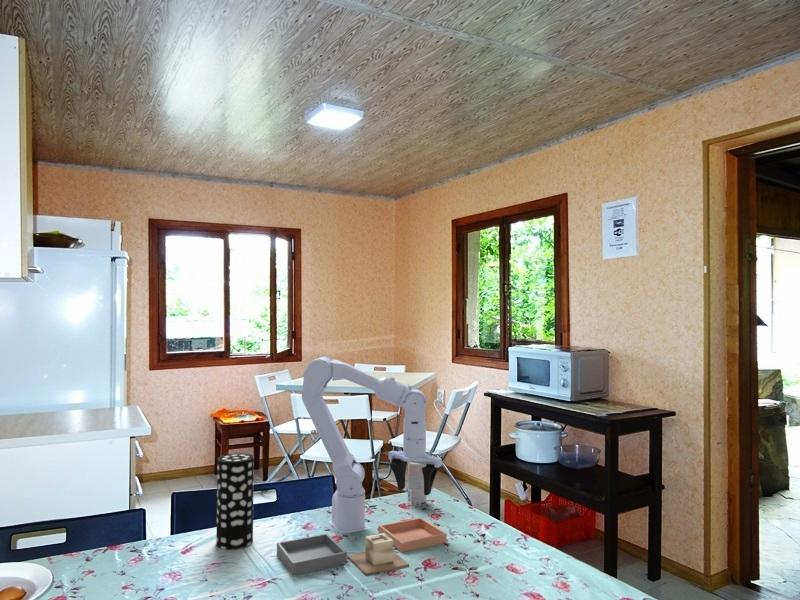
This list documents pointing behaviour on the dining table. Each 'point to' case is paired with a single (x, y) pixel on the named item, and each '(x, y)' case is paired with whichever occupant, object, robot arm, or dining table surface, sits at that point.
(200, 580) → the dining table surface
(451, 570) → the dining table surface
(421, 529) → the terracotta tray
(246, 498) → the spotted tube
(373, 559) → the letter cube
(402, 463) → the robot arm
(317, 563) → the charcoal tray
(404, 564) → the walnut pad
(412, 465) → the energy drink
